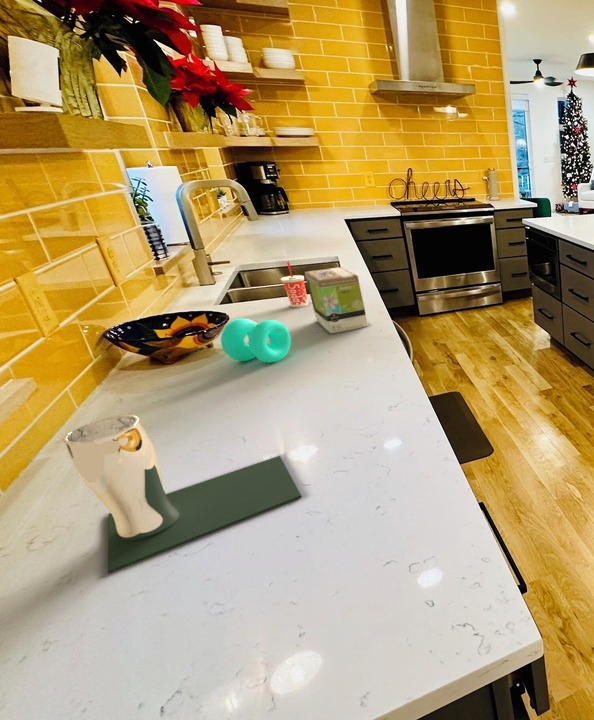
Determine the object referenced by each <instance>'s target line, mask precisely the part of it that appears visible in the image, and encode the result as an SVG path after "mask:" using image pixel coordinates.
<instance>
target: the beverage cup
mask: <svg viewBox="0 0 594 720" xmlns="http://www.w3.org/2000/svg"><path fill="white" fill-rule="evenodd" d="M286 264H287V267H288V271H289V274H290V275H288V276H284V277H281V278H280V281H281V283H282V284H283V287H284V290H285V292H286V296H287V298H288V301H289V303H290V306H291V308H302V307H306V306H308V305H309V299H308V296H307V295H308V293H307V290H306V285H305V275H300V274H298V275H297V274H296V275H293V272H292V268H291V265H290V262H289V261H286Z"/></svg>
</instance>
